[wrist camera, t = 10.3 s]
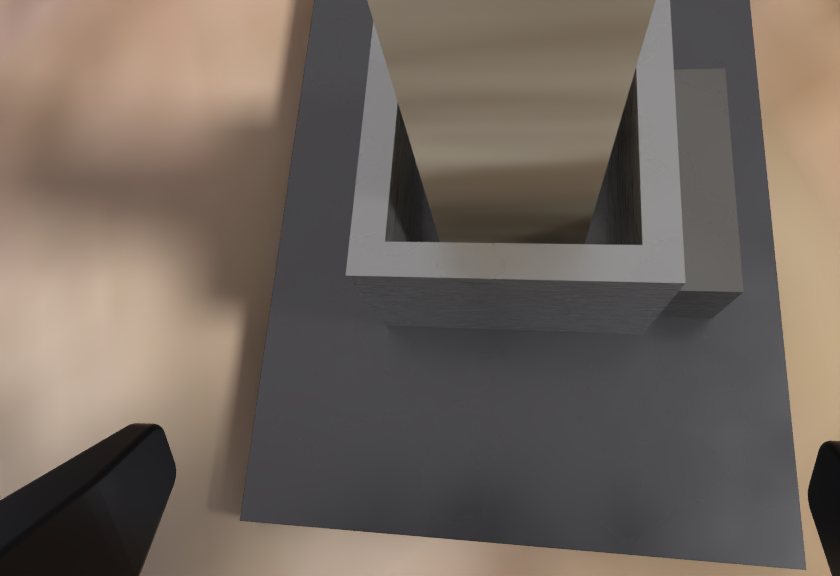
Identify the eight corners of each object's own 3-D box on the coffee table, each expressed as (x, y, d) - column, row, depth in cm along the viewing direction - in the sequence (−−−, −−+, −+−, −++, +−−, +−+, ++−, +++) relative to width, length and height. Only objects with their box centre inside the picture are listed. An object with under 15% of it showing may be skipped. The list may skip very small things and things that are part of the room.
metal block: (576, 270, 18) (705, -167, 6) (448, 268, 18) (326, -135, 6) (575, 155, 19) (681, -414, 7) (453, 156, 19) (359, -369, 7)
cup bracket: (788, 564, 16) (925, 603, 10) (254, 518, 18) (147, 532, 13) (734, -24, 21) (807, -194, 16) (326, -4, 23) (271, -147, 18)
